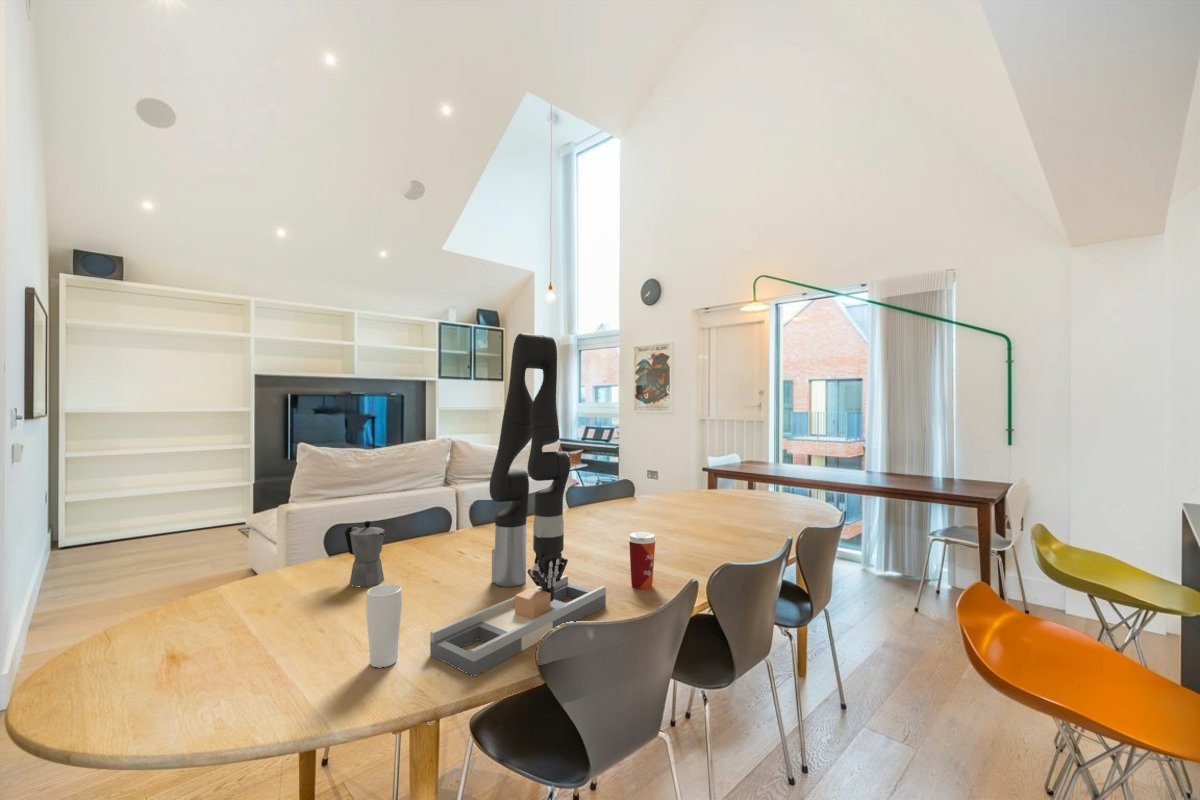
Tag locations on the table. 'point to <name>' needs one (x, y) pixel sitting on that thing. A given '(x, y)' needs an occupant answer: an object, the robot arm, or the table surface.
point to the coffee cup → (642, 559)
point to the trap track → (509, 628)
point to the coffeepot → (365, 554)
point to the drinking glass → (383, 623)
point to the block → (532, 603)
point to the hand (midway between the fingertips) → (548, 601)
